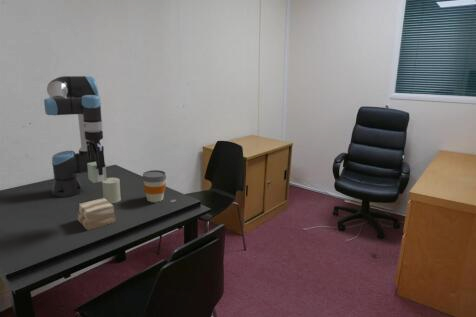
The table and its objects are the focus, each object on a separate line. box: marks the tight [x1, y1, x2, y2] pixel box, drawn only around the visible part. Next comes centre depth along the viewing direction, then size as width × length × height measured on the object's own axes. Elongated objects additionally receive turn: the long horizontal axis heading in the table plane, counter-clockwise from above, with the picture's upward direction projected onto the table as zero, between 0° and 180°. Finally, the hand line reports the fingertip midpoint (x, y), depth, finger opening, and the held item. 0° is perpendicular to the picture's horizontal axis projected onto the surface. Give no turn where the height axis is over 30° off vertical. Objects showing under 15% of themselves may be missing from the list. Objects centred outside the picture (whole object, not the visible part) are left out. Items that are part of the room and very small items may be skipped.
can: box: [101, 177, 122, 204], centre depth 189 cm, size 9×9×12 cm
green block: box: [87, 162, 108, 184], centre depth 160 cm, size 6×6×8 cm
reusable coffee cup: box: [142, 169, 167, 203], centre depth 192 cm, size 13×13×15 cm
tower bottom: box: [76, 211, 117, 231], centre depth 165 cm, size 13×13×4 cm
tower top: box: [78, 197, 115, 222], centre depth 164 cm, size 12×12×4 cm
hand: (97, 179), depth 161 cm, fingers closed on green block, 6 cm apart
